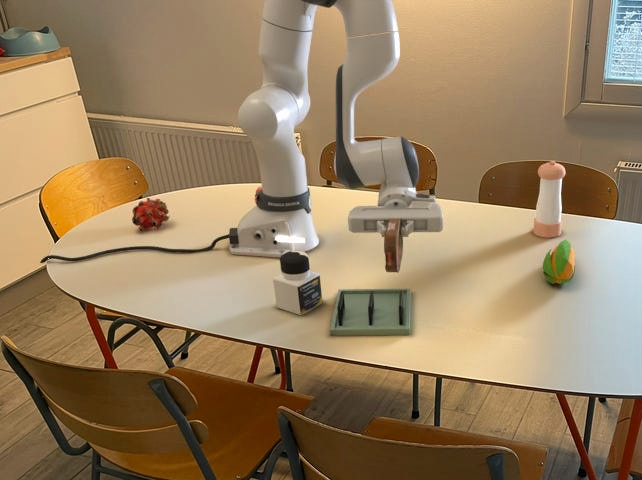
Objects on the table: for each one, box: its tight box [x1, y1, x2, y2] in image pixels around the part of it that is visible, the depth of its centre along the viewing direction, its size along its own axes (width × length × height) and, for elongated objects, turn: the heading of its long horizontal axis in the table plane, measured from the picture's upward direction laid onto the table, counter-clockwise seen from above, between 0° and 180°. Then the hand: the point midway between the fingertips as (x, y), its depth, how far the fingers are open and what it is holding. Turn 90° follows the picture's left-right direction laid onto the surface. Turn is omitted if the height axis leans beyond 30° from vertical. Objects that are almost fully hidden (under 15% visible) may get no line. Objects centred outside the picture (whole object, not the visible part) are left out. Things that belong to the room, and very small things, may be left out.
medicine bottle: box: [272, 251, 323, 316], centre depth 158 cm, size 7×7×12 cm
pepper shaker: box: [533, 160, 566, 239], centre depth 193 cm, size 7×7×19 cm
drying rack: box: [329, 288, 412, 337], centre depth 156 cm, size 16×19×5 cm
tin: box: [383, 218, 404, 274], centre depth 151 cm, size 15×3×8 cm, turn 179°
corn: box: [542, 239, 576, 286], centre depth 173 cm, size 7×8×20 cm
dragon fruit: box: [131, 197, 171, 232], centre depth 198 cm, size 8×8×12 cm
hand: (395, 233), depth 152 cm, fingers closed on tin, 3 cm apart
